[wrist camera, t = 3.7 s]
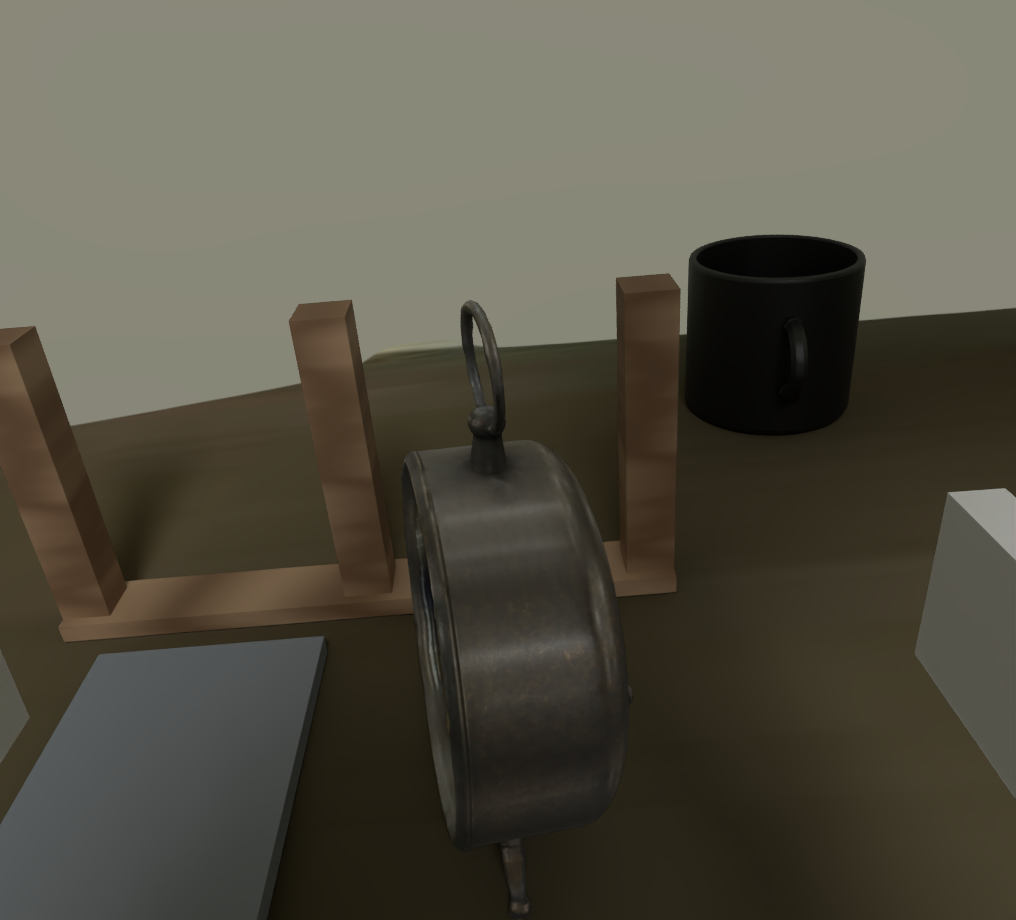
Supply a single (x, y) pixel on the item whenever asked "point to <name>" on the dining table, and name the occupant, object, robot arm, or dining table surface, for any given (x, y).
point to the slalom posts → (345, 480)
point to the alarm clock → (513, 633)
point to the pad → (165, 787)
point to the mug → (772, 331)
